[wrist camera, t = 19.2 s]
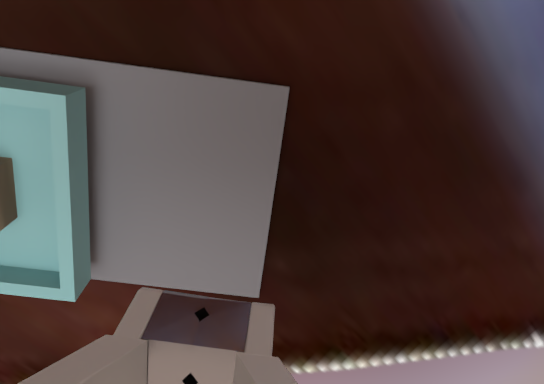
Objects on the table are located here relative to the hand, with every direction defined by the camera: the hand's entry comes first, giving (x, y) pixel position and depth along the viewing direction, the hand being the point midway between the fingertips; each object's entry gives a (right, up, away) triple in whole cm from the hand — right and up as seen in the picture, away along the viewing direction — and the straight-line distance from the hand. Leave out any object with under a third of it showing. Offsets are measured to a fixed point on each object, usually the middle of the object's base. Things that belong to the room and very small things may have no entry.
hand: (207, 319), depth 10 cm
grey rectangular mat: (-14, +4, +24) cm, 28 cm away
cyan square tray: (-19, +5, +24) cm, 31 cm away
